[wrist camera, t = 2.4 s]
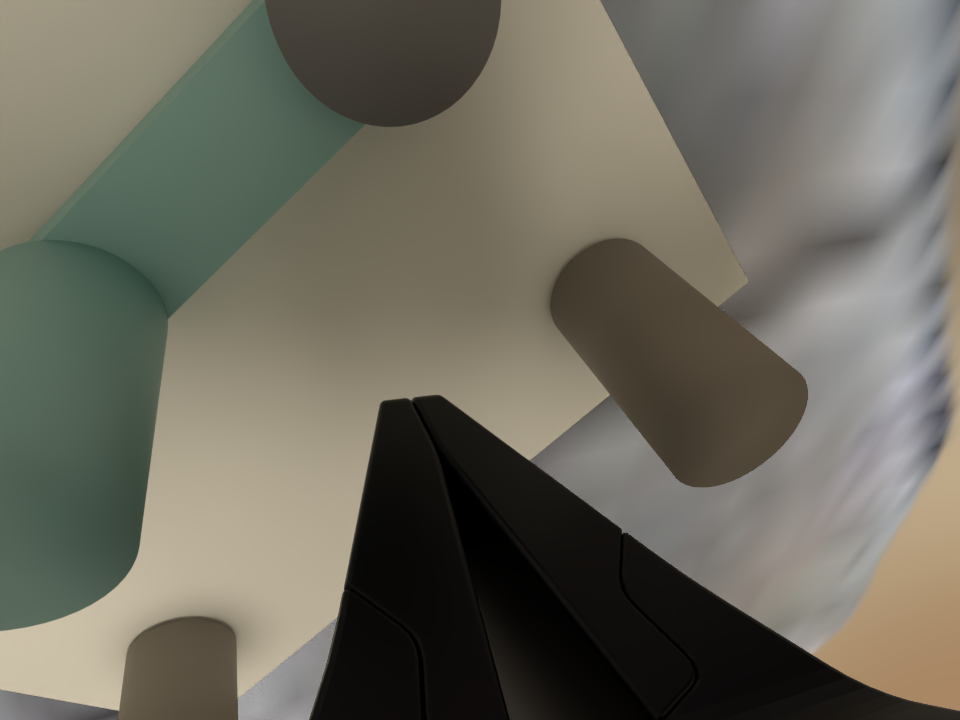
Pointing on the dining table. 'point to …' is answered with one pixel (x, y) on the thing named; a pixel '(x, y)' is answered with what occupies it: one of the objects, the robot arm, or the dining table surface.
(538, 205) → the cream square peg board
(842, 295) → the dining table surface
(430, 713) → the robot arm
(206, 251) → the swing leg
